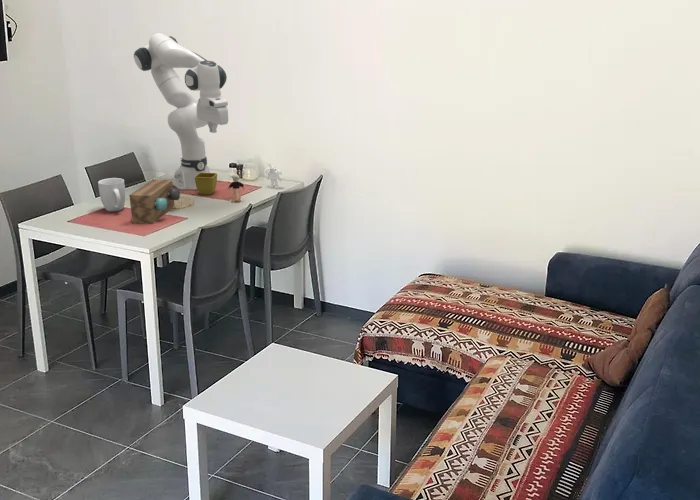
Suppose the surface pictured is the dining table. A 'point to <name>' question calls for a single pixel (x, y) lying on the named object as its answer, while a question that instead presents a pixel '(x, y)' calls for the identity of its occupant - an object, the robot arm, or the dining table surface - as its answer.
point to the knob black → (174, 194)
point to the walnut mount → (150, 201)
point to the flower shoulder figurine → (273, 175)
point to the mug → (112, 193)
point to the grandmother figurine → (236, 188)
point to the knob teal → (161, 204)
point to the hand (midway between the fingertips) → (213, 132)
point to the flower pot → (206, 182)
